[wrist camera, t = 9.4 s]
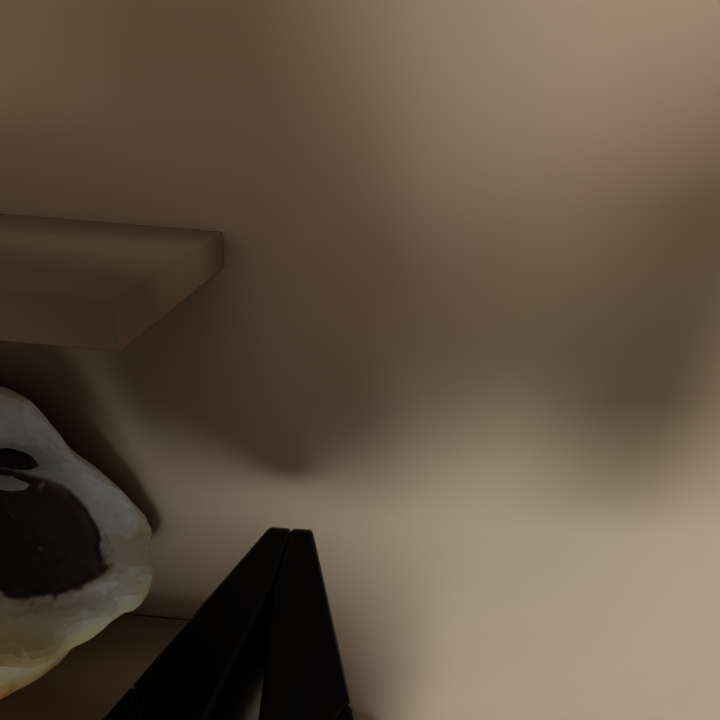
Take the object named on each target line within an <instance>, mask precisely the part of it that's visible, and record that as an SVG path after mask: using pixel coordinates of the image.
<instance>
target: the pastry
mask: <svg viewBox="0 0 720 720" xmlns="http://www.w3.org/2000/svg"><path fill="white" fill-rule="evenodd" d="M151 534H152V532H151V527H150V525H149V523H148V521H147V518H146V516H145V515H144V514H143V513H142V512H141V511H140V510H139V509H138V508H137V506H136V505H135V504H134V503H133V502H132V501H131V500H130V499H129V498H128V497H127V495H126V494H125V493H124V492H123V491H122V490H121V489H120V488H119V487H118V486H117V485H116V484H115V483H114V482H113V481H111V480H110V479H109V478H108V477H107V476H106V475H104V474H103V473H102V472H101V471H100V470H99V469H98V468H96V467H95V466H94V465H92V464H91V463H89V462H88V461H87V460H85V459H84V458H82V457H81V456H79V455H78V454H77V453H75V452H74V451H73V450H72V449H71V448H70V447H69V446H68V445H67V444H66V443H65V441H64V440H63V438H62V436H61V435H60V434H59V433H58V431H57V430H56V429H55V428H54V427H53V426H52V424H51V423H50V422H49V421H48V420H47V418H46V417H45V416H44V415H43V414H42V412H41V411H40V410H39V409H38V408H37V407H36V406H35V405H34V404H33V403H32V402H31V401H29V400H28V399H27V398H25V397H24V396H22V395H20V394H18V393H16V392H14V391H12V390H10V389H8V388H4V387H1V386H0V699H2V698H4V697H6V696H8V695H9V694H11V693H13V692H14V691H16V690H19V689H21V688H23V687H25V686H27V685H29V684H30V683H32V682H34V681H35V680H37V679H38V678H40V677H41V676H43V675H44V674H45V673H47V672H48V671H49V670H51V669H52V668H53V667H54V666H56V665H57V664H58V663H59V662H61V660H62V659H63V658H64V657H65V656H66V655H67V654H68V652H69V651H70V650H71V649H72V648H73V647H76V646H78V645H80V644H82V643H84V642H86V641H88V640H90V639H92V638H93V637H94V636H96V635H97V634H98V633H99V632H101V631H102V630H103V629H104V628H105V627H106V626H107V625H108V624H109V623H110V622H112V621H113V620H114V619H116V618H117V617H119V616H120V615H122V614H123V613H126V612H130V611H133V610H134V609H136V608H137V607H138V606H139V605H140V604H142V602H143V601H144V599H145V598H146V596H147V594H148V592H149V589H150V586H151V582H152V577H153V561H152V557H151V554H150V550H149V543H150V540H151Z"/></svg>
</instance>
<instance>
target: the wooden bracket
mask: <svg viewBox="0 0 720 720" xmlns="http://www.w3.org/2000/svg"><path fill="white" fill-rule="evenodd" d="M223 267H224V258H223V242H222V232H212V231H200V230H187V229H175V228H163V227H151V226H139V225H127V224H114V223H102V222H90V221H78V220H66V219H54V218H41V217H29V216H17V215H5V214H0V341H11V342H22V343H34V344H45V345H57V346H68V347H80V348H91V349H103V350H114V351H121V350H123V349H124V348H125V347H126V346H128V345H129V344H130V343H131V342H133V341H134V340H135V339H136V338H137V337H139V336H140V335H141V334H142V333H144V332H145V331H146V330H147V329H148V328H150V327H151V326H152V325H153V324H155V323H156V322H157V321H158V320H160V319H161V318H162V317H163V316H164V315H166V314H167V313H168V312H169V311H171V310H172V309H173V308H174V307H175V306H177V305H178V304H179V303H180V302H182V301H183V300H184V299H185V298H187V297H188V296H189V295H190V294H191V293H193V292H194V291H195V290H196V289H198V288H199V287H200V286H201V285H202V284H204V283H205V282H206V281H207V280H209V279H210V278H211V277H212V276H214V275H215V274H216V273H217V272H218V271H220V270H221V269H222V268H223ZM187 622H188V621H187V620H177V619H166V618H156V617H146V616H135V615H125V614H122V615H120V616H119V617H117V618H116V619H114V620H113V621H112V622H110V623H109V624H108V625H107V626H106V627H105V628H104V629H103V630H102V631H101V632H99V633H98V634H97V635H96V636H94V637H93V638H92V639H90V640H88V641H86V642H84V643H82V644H80V645H78V646H76V647H73V648H72V649H71V650H70V651H69V652H68V654H67V655H66V656H65V657H64V658H63V659H62V660H61V662H59V663H58V664H57V665H56V666H54V667H53V668H52V669H51V670H49V671H48V672H47V673H45V674H44V675H43V676H41V677H40V678H38V679H37V680H35V681H34V682H32V683H30V684H29V685H27V686H25V687H23V688H21V689H19V690H16V691H14V692H13V693H11V694H9V695H8V696H6V697H4V698H2V699H0V720H102V719H103V718H104V717H105V716H106V715H107V714H108V713H109V711H110V710H111V709H112V708H113V707H114V706H115V705H116V703H117V702H118V701H119V700H120V699H121V698H122V696H123V695H124V694H125V693H126V692H127V691H128V689H130V688H133V689H134V683H135V682H136V681H137V679H138V678H139V677H140V676H141V675H142V674H143V673H144V671H145V670H146V669H147V668H148V667H149V666H150V665H151V663H152V662H153V661H154V660H155V659H156V658H157V656H158V655H159V654H160V653H161V652H162V651H163V650H164V648H165V647H166V646H167V645H168V644H169V643H170V641H171V640H172V639H173V638H174V637H175V636H176V635H177V633H178V632H179V631H180V630H181V629H182V628H183V627H184V625H185V624H186V623H187Z"/></svg>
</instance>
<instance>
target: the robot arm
mask: <svg viewBox="0 0 720 720" xmlns="http://www.w3.org/2000/svg"><path fill="white" fill-rule="evenodd" d="M102 720H355V717H354V712H353V708H352V707H351V700H350V695H349V691H348V686H347V682H346V677H345V673H344V669H343V664H342V660H341V655H340V651H339V646H338V642H337V637H336V633H335V628H334V624H333V619H332V615H331V611H330V606H329V602H328V597H327V593H326V588H325V584H324V579H323V575H322V570H321V566H320V562H319V557H318V553H317V548H316V544H315V539H314V535H313V532H312V531H311V530H306V529H293V530H292V531H291V530H290V529H288V528H278V527H271V528H269V529H268V530H267V531H266V532H265V533H264V534H263V536H262V537H261V538H260V539H259V540H258V541H257V542H256V544H255V545H254V546H253V547H252V548H251V549H250V551H249V552H248V553H247V554H246V555H245V556H244V557H243V559H242V560H241V561H240V562H239V563H238V564H237V566H236V567H235V568H234V569H233V570H232V571H231V572H230V574H229V575H228V576H227V577H226V578H225V579H224V580H223V582H222V583H221V584H220V585H219V586H218V587H217V589H216V590H215V591H214V592H213V593H212V594H211V595H210V597H209V598H208V599H207V600H206V601H205V602H204V604H203V605H202V606H201V607H200V608H199V609H198V610H197V612H196V613H195V614H194V615H193V616H192V617H191V618H190V620H189V621H188V622H187V623H186V624H185V625H184V627H183V628H182V629H181V630H180V631H179V632H178V633H177V635H176V636H175V637H174V638H173V639H172V640H171V641H170V643H169V644H168V645H167V646H166V647H165V648H164V650H163V651H162V652H161V653H160V654H159V655H158V656H157V658H156V659H155V660H154V661H153V662H152V663H151V665H150V666H149V667H148V668H147V669H146V670H145V671H144V673H143V674H142V675H141V676H140V677H139V678H138V679H137V681H136V682H135V683H134V689H133V688H130V689H128V691H127V692H126V693H125V694H124V695H123V696H122V698H121V699H120V700H119V701H118V702H117V703H116V705H115V706H114V707H113V708H112V709H111V710H110V711H109V713H108V714H107V715H106V716H105V717H104V718H103V719H102Z"/></svg>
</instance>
